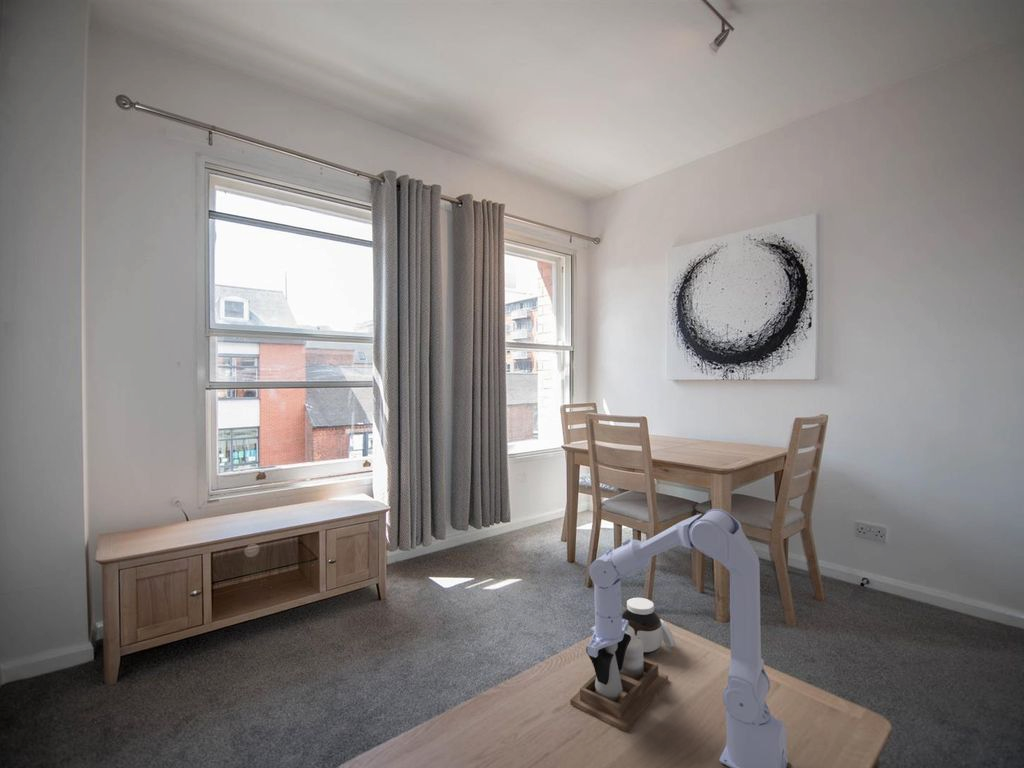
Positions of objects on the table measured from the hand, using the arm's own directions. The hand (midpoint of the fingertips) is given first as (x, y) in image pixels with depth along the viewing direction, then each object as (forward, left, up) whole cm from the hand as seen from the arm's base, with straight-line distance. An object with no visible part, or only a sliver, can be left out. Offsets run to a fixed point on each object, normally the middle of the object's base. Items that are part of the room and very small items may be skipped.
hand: (609, 675), depth 101 cm
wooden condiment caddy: (0, -5, -6) cm, 8 cm away
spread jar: (+3, -26, -6) cm, 27 cm away
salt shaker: (0, 0, -5) cm, 5 cm away
